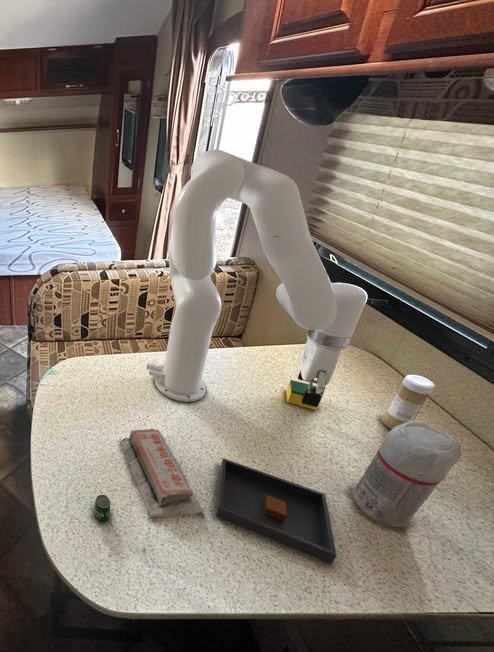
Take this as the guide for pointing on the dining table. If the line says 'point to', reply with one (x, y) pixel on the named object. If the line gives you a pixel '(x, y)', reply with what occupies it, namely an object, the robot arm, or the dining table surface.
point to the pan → (249, 512)
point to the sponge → (297, 393)
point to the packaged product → (159, 475)
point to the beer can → (102, 508)
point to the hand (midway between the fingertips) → (307, 392)
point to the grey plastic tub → (405, 472)
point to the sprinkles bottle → (408, 400)
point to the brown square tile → (275, 508)
